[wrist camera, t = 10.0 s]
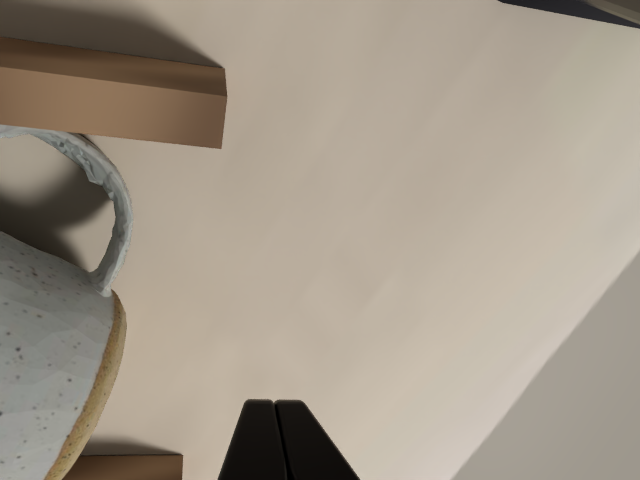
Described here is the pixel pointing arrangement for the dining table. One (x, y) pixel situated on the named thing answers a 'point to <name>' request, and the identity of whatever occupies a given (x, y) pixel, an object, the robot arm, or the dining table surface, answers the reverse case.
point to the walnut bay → (114, 121)
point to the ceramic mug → (59, 333)
